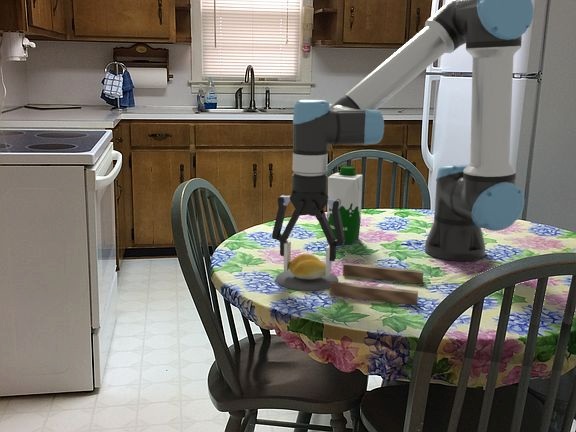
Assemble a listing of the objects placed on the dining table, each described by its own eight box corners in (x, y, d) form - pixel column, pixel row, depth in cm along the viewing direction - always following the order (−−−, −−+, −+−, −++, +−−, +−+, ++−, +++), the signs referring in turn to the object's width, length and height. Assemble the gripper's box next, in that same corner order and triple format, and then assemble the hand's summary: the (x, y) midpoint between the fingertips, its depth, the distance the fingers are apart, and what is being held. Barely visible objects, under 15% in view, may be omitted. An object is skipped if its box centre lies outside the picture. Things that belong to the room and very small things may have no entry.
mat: (343, 273, 147) (343, 272, 147) (330, 294, 134) (330, 292, 134) (286, 267, 151) (286, 266, 151) (267, 286, 138) (267, 285, 138)
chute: (422, 281, 143) (423, 271, 142) (416, 305, 129) (417, 293, 128) (344, 272, 148) (344, 262, 147) (330, 294, 134) (330, 283, 133)
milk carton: (362, 237, 178) (365, 167, 173) (353, 246, 169) (356, 172, 165) (332, 234, 181) (335, 164, 176) (322, 242, 173) (324, 169, 168)
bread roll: (298, 282, 137) (299, 264, 136) (284, 269, 145) (284, 252, 144) (333, 278, 140) (334, 260, 139) (318, 265, 148) (318, 249, 147)
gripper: (362, 173, 138) (358, 271, 143) (267, 167, 143) (267, 262, 149) (356, 178, 131) (351, 282, 136) (256, 172, 136) (256, 272, 142)
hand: (307, 272), depth 142 cm, fingers closed on bread roll, 9 cm apart
